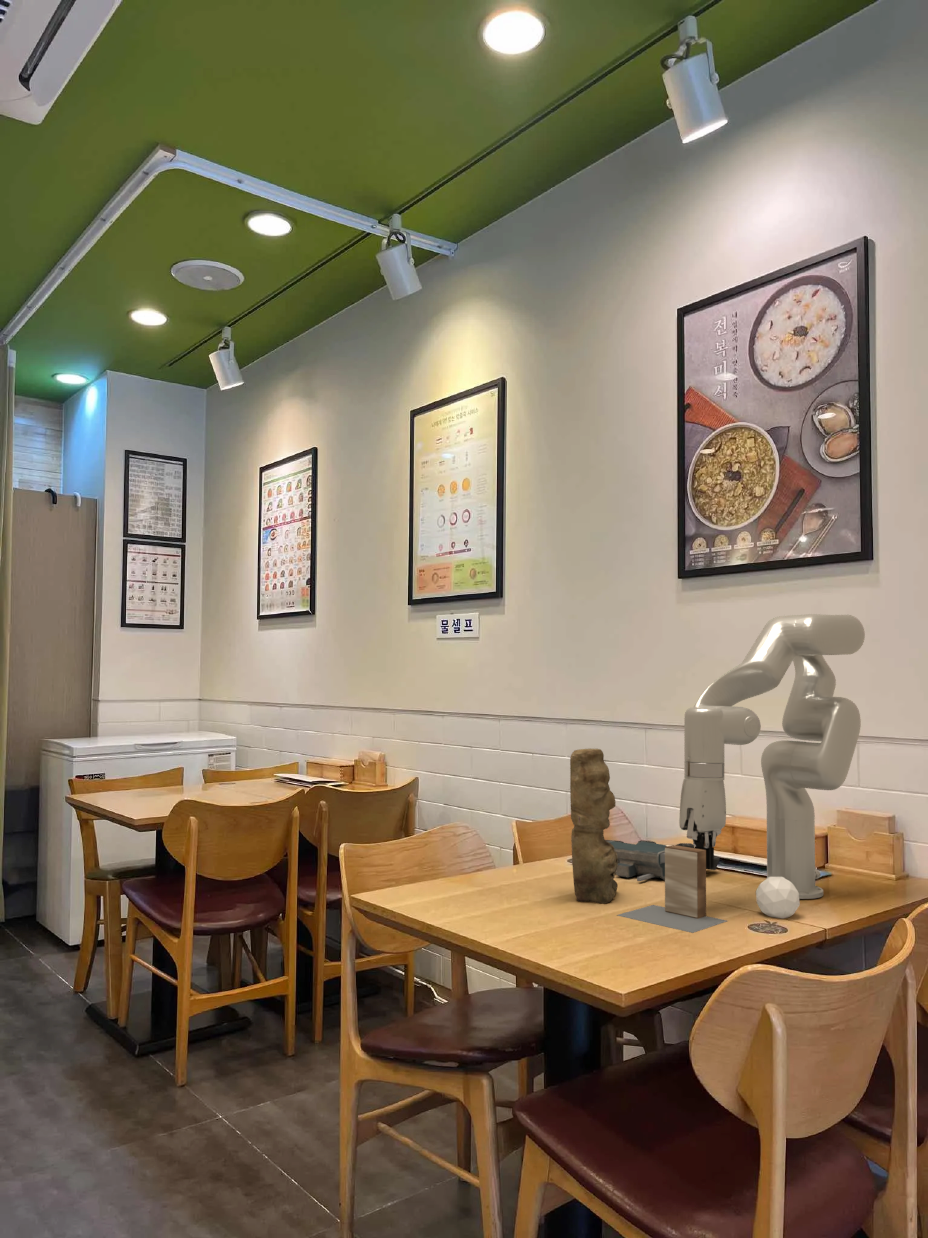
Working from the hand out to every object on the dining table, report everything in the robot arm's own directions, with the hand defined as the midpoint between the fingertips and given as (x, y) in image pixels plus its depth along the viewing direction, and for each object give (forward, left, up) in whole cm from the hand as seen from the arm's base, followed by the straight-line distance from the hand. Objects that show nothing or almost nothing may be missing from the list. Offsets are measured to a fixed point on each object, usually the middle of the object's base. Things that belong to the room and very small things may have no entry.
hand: (704, 867), depth 177 cm
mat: (+11, 0, -8) cm, 14 cm away
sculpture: (+8, -20, -8) cm, 23 cm away
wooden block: (+7, 0, -8) cm, 10 cm away
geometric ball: (-6, +12, -8) cm, 16 cm away
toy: (-25, -29, -9) cm, 40 cm away
